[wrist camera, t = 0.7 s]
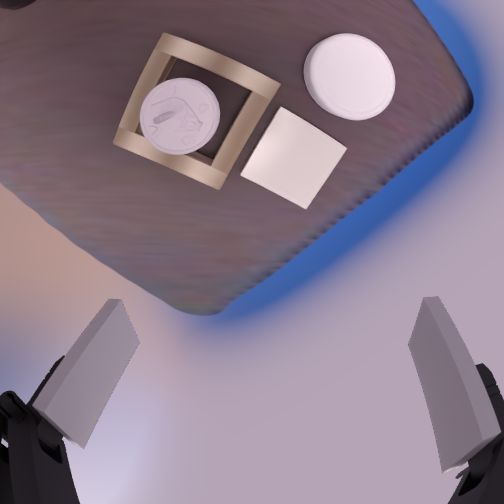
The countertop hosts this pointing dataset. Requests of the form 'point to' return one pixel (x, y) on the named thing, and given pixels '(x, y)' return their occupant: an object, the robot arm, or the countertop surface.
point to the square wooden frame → (237, 135)
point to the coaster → (349, 76)
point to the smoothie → (179, 116)
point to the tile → (292, 158)
